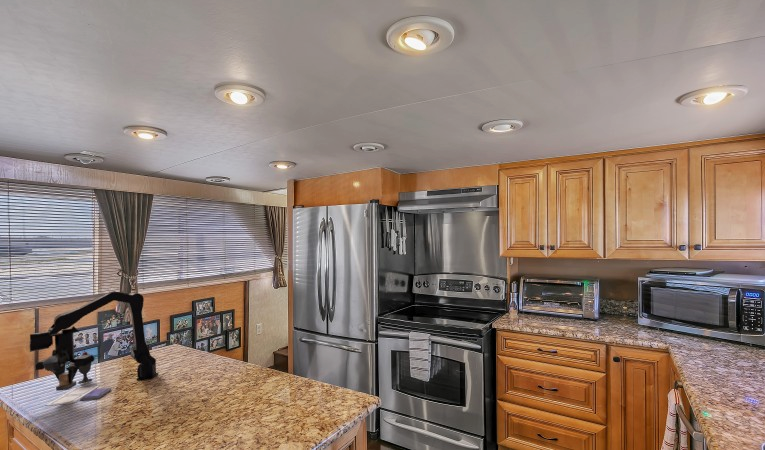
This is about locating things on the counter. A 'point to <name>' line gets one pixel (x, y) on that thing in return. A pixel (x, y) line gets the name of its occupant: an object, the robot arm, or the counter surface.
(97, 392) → the ink pad
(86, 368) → the sundae
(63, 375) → the stamp
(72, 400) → the form sheet
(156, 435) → the counter surface
